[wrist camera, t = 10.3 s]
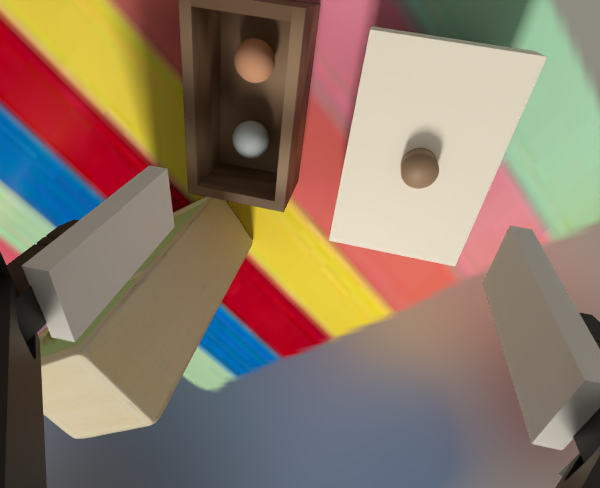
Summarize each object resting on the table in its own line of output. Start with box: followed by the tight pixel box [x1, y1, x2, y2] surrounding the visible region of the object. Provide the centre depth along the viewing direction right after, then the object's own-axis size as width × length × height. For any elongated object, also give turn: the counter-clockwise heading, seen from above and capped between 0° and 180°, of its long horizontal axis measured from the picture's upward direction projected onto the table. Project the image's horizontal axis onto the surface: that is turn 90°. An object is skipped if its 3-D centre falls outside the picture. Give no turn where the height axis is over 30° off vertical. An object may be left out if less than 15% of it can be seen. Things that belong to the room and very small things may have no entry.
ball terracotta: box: [234, 38, 275, 83], centre depth 29 cm, size 3×3×3 cm
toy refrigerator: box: [38, 197, 252, 439], centre depth 32 cm, size 8×7×21 cm
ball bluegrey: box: [233, 121, 269, 158], centre depth 32 cm, size 3×3×3 cm
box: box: [178, 0, 320, 212], centre depth 30 cm, size 14×8×6 cm, turn 173°
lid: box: [329, 26, 547, 266], centre depth 27 cm, size 15×10×4 cm, turn 173°
